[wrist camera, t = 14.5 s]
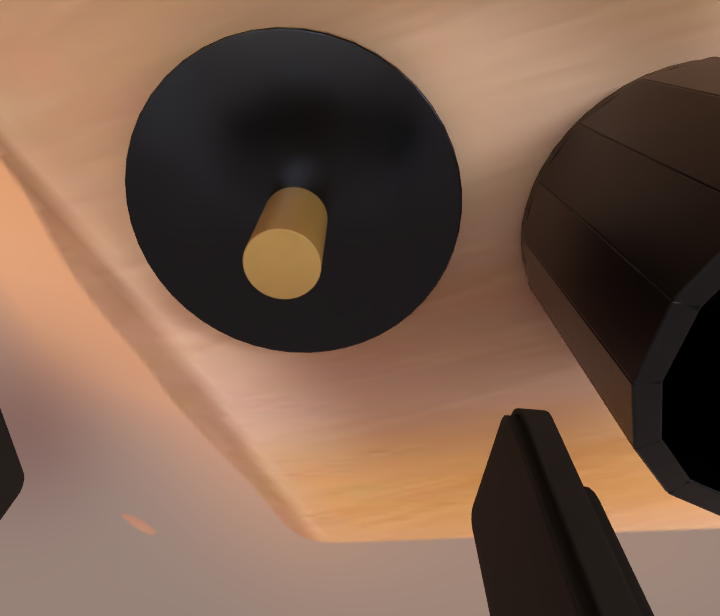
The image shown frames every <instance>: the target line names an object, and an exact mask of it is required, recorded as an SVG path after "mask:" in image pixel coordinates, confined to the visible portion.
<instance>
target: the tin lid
mask: <svg viewBox="0 0 720 616" xmlns="http://www.w3.org/2000/svg"><path fill="white" fill-rule="evenodd" d="M125 186H126V199H127V206H128V211H129V215H130V220H131V224H132V227H133V230H134V233H135V236H136V239H137V241H138V244H139V246H140V248H141V250H142V252H143V254H144V256H145V258H146V260H147V262H148V264H149V265H150V267H151V268H152V270H153V271H154V273H155V274H156V276H157V277H158V279H159V280H160V281H161V283H162V284H163V285H164V286H165V287H166V289H167V290H168V291H169V292H170V293H171V295H172V296H174V297H175V298H176V299H177V300H178V301H179V302H180V303H181V304H182V305H183V306H184V307H185V308H186V309H187V310H189V311H190V312H191V313H193V314H194V315H195V316H196V317H198V318H199V319H200V320H202V321H203V322H205V323H206V324H208V325H210V326H211V327H213V328H215V329H216V330H218V331H220V332H222V333H224V334H226V335H228V336H230V337H233V338H235V339H237V340H240V341H243V342H246V343H248V344H251V345H254V346H258V347H263V348H267V349H271V350H277V351H285V352H302V353H312V352H323V351H331V350H336V349H341V348H346V347H349V346H353V345H356V344H359V343H362V342H365V341H367V340H369V339H371V338H374V337H376V336H378V335H380V334H382V333H384V332H385V331H387V330H389V329H390V328H392V327H394V326H396V325H397V324H398V323H400V322H401V321H402V320H403V319H405V318H406V317H407V316H409V315H410V314H411V313H412V312H413V311H414V310H415V309H416V308H417V307H418V306H419V305H420V304H421V303H422V302H423V301H424V300H425V299H426V298H427V296H428V295H429V294H430V292H431V291H432V290H433V289H434V287H435V286H436V285H437V283H438V281H439V280H440V278H441V276H442V275H443V273H444V271H445V270H446V267H447V265H448V263H449V260H450V258H451V256H452V253H453V251H454V248H455V244H456V240H457V237H458V233H459V228H460V221H461V214H462V187H461V179H460V172H459V167H458V163H457V159H456V156H455V152H454V148H453V145H452V143H451V141H450V138H449V136H448V134H447V131H446V129H445V127H444V125H443V123H442V121H441V120H440V118H439V116H438V115H437V113H436V111H435V110H434V108H433V106H432V105H431V103H430V102H429V101H428V100H427V99H426V97H425V96H424V95H423V94H422V92H421V91H420V90H419V89H418V87H417V86H416V85H415V84H414V83H413V82H412V81H411V80H410V79H409V78H408V77H407V76H406V75H405V74H403V73H402V72H401V71H400V70H399V69H398V68H397V67H396V66H394V65H393V64H392V63H390V62H389V61H387V60H386V59H384V58H383V57H382V56H380V55H379V54H377V53H376V52H374V51H372V50H370V49H368V48H366V47H364V46H362V45H360V44H358V43H356V42H354V41H352V40H349V39H346V38H343V37H340V36H337V35H335V34H332V33H328V32H323V31H318V30H312V29H307V28H293V27H273V28H264V29H256V30H249V31H246V32H242V33H238V34H235V35H231V36H227V37H225V38H223V39H220V40H218V41H216V42H214V43H211V44H209V45H207V46H205V47H203V48H201V49H200V50H198V51H197V52H195V53H194V54H192V55H191V56H189V57H188V58H186V59H185V60H183V61H182V62H181V63H180V64H179V65H178V66H176V67H175V68H174V69H173V70H172V71H171V72H170V73H169V74H168V75H167V76H166V77H165V78H164V79H163V80H162V81H161V83H160V84H159V85H158V86H157V88H156V89H155V90H154V92H153V93H152V94H151V95H150V97H149V99H148V101H147V102H146V104H145V106H144V108H143V110H142V111H141V113H140V115H139V117H138V120H137V123H136V125H135V128H134V130H133V133H132V136H131V140H130V145H129V149H128V154H127V159H126V174H125Z"/></svg>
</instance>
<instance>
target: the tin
mask: <svg viewBox="0 0 720 616" xmlns="http://www.w3.org/2000/svg"><path fill="white" fill-rule="evenodd" d="M521 247H522V259H523V263H524V268H525V272H526V275H527V277H528V282H529V286H530V289H531V290H532V292H533V293H534V295H535V296H536V298H537V299H538V301H539V302H540V304H541V306H542V307H543V309H544V310H545V312H546V313H547V315H548V316H549V318H550V320H551V321H552V323H553V324H554V326H555V327H556V329H557V330H558V332H559V333H560V335H561V337H562V338H563V340H564V341H565V343H566V344H567V346H568V347H569V349H570V351H571V352H572V354H573V355H574V357H575V358H576V360H577V361H578V363H579V365H580V366H581V368H582V369H583V371H584V372H585V374H586V375H587V377H588V378H589V380H590V382H591V383H592V385H593V386H594V388H595V389H596V391H597V392H598V394H599V396H600V397H601V399H602V400H603V402H604V403H605V405H606V406H607V408H608V409H609V411H610V413H611V414H612V416H613V417H614V419H615V420H616V422H617V423H618V425H619V427H620V428H621V430H622V431H623V433H624V434H625V436H626V437H627V439H628V441H629V442H630V444H631V445H632V447H633V448H634V450H635V451H636V452H637V454H638V455H639V456H640V458H641V459H642V460H643V462H644V463H645V464H646V466H647V467H648V468H649V470H650V471H651V472H652V474H653V475H654V476H655V478H656V479H657V480H658V482H659V483H660V484H661V486H662V487H663V488H664V490H665V491H667V492H668V493H669V494H670V495H672V496H675V497H677V498H679V499H682V500H684V501H686V502H689V503H691V504H694V505H696V506H698V507H701V508H703V509H705V510H708V511H710V512H712V513H715V514H717V515H719V516H720V57H710V58H706V59H703V60H695V61H689V62H685V63H681V64H677V65H673V66H669V67H666V68H663V69H661V70H658V71H655V72H653V73H650V74H647V75H645V76H643V77H641V78H639V79H637V80H635V81H633V82H631V83H629V84H627V85H625V86H624V87H622V88H621V89H619V90H618V91H616V92H614V93H613V94H611V95H610V96H608V97H607V98H605V99H604V100H603V101H601V102H600V103H599V104H598V105H596V106H595V107H594V108H593V109H592V110H590V111H589V112H588V113H587V114H585V115H584V116H583V117H582V118H581V119H580V120H579V121H578V122H577V123H576V124H575V125H574V126H573V127H572V128H571V129H570V130H569V131H568V133H567V134H566V135H565V136H564V138H563V139H562V140H561V141H560V143H559V144H558V145H557V146H556V148H555V149H554V150H553V152H552V153H551V155H550V156H549V158H548V160H547V161H546V163H545V164H544V166H543V167H542V169H541V171H540V173H539V175H538V177H537V179H536V181H535V184H534V186H533V188H532V191H531V194H530V196H529V199H528V202H527V205H526V209H525V214H524V219H523V224H522V236H521Z"/></svg>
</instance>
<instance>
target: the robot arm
mask: <svg viewBox="0 0 720 616" xmlns="http://www.w3.org/2000/svg"><path fill="white" fill-rule="evenodd" d="M23 482H24V473H23V470H22V467H21V464H20V462H19V459H18V456H17V453H16V450H15V448H14V445H13V442H12V439H11V437H10V434H9V431H8V428H7V426H6V423H5V420H4V418H3V415H2V412H1V409H0V520H1V518H2V517H3V515H4V514H5V513H6V511H7V510H8V508H9V507H10V506H11V504H12V503H13V502H14V500H15V499H16V497H17V496H18V494H19V493H20V491H21V489H22V486H23ZM472 529H473V534H474V539H475V544H476V548H477V553H478V558H479V563H480V568H481V573H482V578H483V583H484V587H485V593H486V597H487V602H488V607H489V612H490V616H654V614H653V612H652V610H651V608H650V606H649V604H648V602H647V600H646V598H645V595H644V593H643V591H642V589H641V587H640V585H639V583H638V581H637V579H636V576H635V574H634V572H633V570H632V568H631V566H630V564H629V562H628V560H627V557H626V555H625V553H624V551H623V549H622V547H621V545H620V543H619V541H618V539H617V536H616V534H615V532H614V530H613V528H612V526H611V524H610V522H609V520H608V517H607V515H606V513H605V511H604V509H603V507H602V505H601V503H600V501H599V499H598V497H597V496H596V494H595V493H594V492H593V491H592V490H591V489H590V488H589V487H584V486H583V484H582V482H581V480H580V477H579V475H578V473H577V471H576V469H575V467H574V464H573V462H572V460H571V458H570V456H569V453H568V451H567V449H566V447H565V445H564V442H563V440H562V438H561V436H560V434H559V431H558V429H557V427H556V425H555V423H554V420H553V418H552V416H551V415H550V413H549V412H547V411H544V410H533V409H521V408H516V409H515V410H514V411H513V412H512V414H511V416H510V415H504V417H503V418H502V420H501V423H500V426H499V429H498V432H497V435H496V438H495V441H494V444H493V447H492V450H491V453H490V456H489V459H488V462H487V465H486V468H485V471H484V474H483V477H482V480H481V483H480V486H479V489H478V492H477V495H476V498H475V501H474V505H473V508H472Z"/></svg>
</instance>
